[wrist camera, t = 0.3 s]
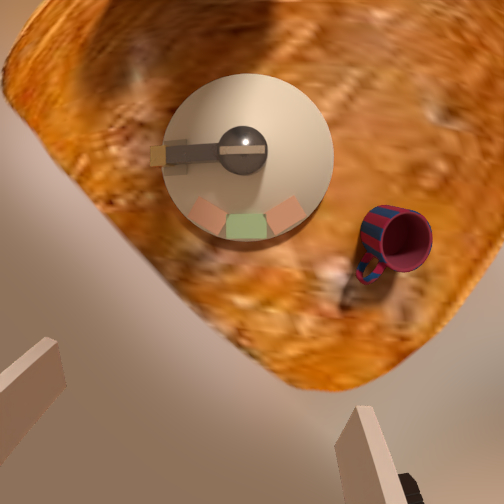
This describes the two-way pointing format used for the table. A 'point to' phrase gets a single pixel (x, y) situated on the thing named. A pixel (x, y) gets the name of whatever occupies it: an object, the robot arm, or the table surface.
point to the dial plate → (269, 177)
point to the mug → (393, 241)
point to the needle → (218, 152)
